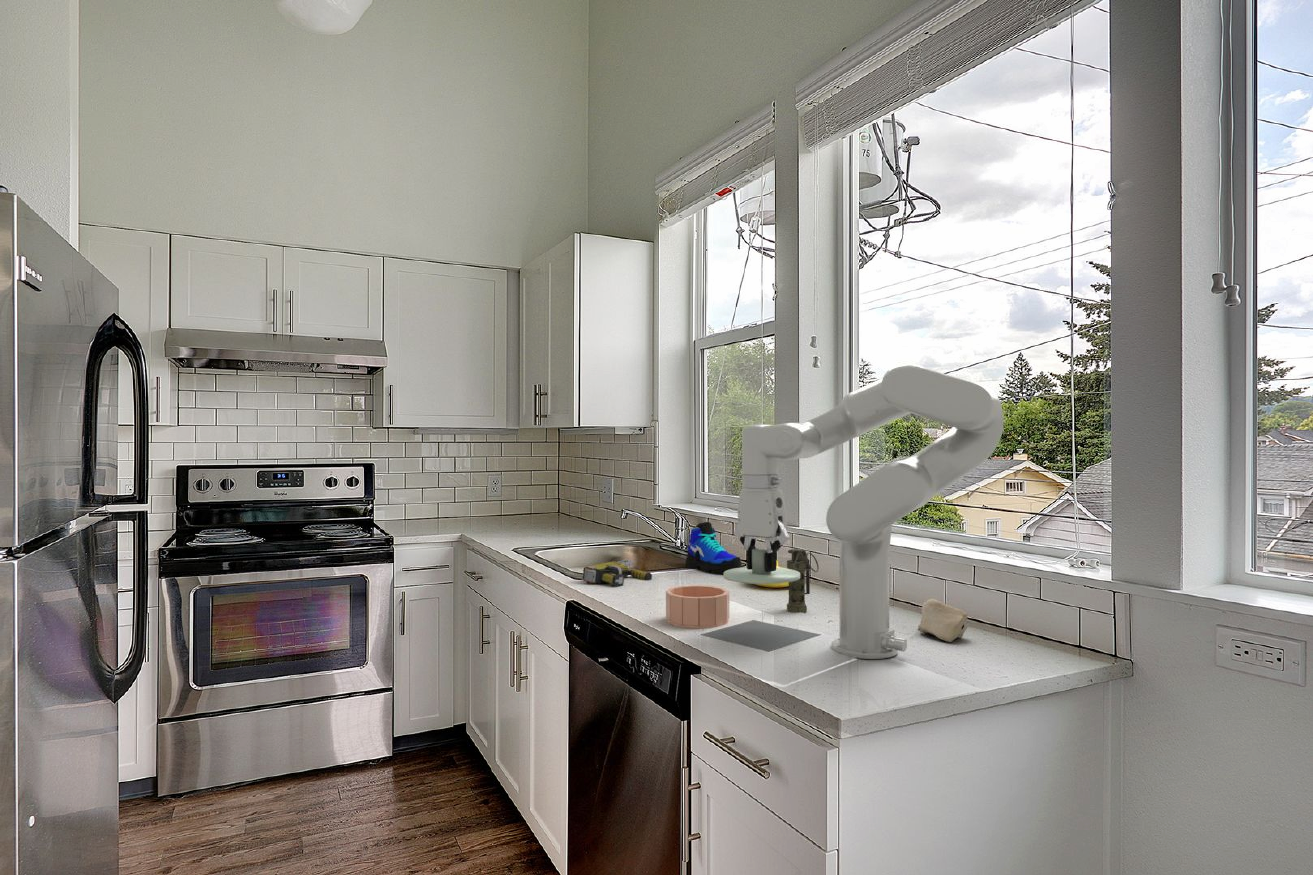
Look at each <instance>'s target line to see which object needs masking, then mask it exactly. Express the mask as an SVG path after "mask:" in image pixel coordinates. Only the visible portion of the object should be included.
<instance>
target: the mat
mask: <svg viewBox="0 0 1313 875" xmlns="http://www.w3.org/2000/svg"><path fill="white" fill-rule="evenodd" d="M699 636H704V637H707V638H712V639H716V640H720V641H722V642H723V641H724V642H728V643H732V644H736V645H741V646H744V647H748V648H752V649H757V650H760V651H764V652H772V651H775V650H779V649H782V648H785V647H788V646H791V645H794V644H796V643H800V642H803V641H806V640H810V639H813V638H816V637H819V636H822V634H820V633H815V632H811V631H807V630H803V629H797V628H792V627H789V626H783V625H779V624H774V623H769V622H765V621H761V620H760V621H758V620H755V619H752V620H749V621H744V622H741V623H738V624H734V625H731V626H727V627H726V626H725V627H723V628H719V629H715V630H711V631H708V632H704V633H700V634H699Z"/></svg>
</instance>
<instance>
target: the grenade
mask: <svg viewBox="0 0 1313 875" xmlns="http://www.w3.org/2000/svg"><path fill="white" fill-rule="evenodd" d="M787 553H788V554H791V559H788V560H787V561H786V568H787V569H792V570H795V571H798V572H800V579H799V580H796V581H793V582H789V586H788V602H787V603H786V610H787V612H788V613H789V612H791V613H799V614H800V613H801V614H802V613H803V614H806V613H807V612H808V608H807V607H808V606H807V604H806V598H805V595H810V593H811V592H810V591H811V588H810V586H811V585H810V584H811V581H810V580H811V579H810V576H811V575H810V572H811V570H812V571H813V572H814V573H817V572H819V569H820V568H819V562H818V560H817V558H816V556H815V555H814V554H813V553H811V552H806V550H805V549H804V548H803V549H801V548H793V549H792V548H791V549H789V550H788V551H787ZM808 555H811V556H812V558H813V559H814V561H815V564H816V570H815V569H813V567H812V566H811V564H810V559H809V558H808Z"/></svg>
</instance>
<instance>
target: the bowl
mask: <svg viewBox="0 0 1313 875" xmlns="http://www.w3.org/2000/svg"><path fill="white" fill-rule="evenodd" d="M665 618H666V622H667V623H668V624H670V625H672V626H676V627H682V628H690V629H706V628H707V629H710V628H717V627H722V626H725V625H726V624H728V623H729V622H730V621H729V619H730V591H729V590H727V589H726V588H724V587H719V586H713V585H701V584H700V585H698V584H697V585H696V584H692V585H680V586H675V587H670V588H668V589H667V590H665Z"/></svg>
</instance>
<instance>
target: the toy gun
mask: <svg viewBox="0 0 1313 875" xmlns="http://www.w3.org/2000/svg"><path fill="white" fill-rule="evenodd" d="M631 566H632V568H631ZM634 566H635V563H634V561H633V560H631V559H630V560H629V559H623V560H618V561H616V560H615V561H614V560H613V561H609V562H603V563H597V564H593V565H587V566H584V567H583V570H582V580H583V581H584V582H585V583H586V582H587V583H586V584H596V583H599V584H612V585H611V586H612V587H621V586H624V580H625V578H628V576H630V577H631V578H635V579H638V580H644V581H651V580H652V579H653V574H652V573H651V572H646V571H644V570H639V569H635V568H634ZM630 568H631V569H630ZM588 582H589V583H588Z"/></svg>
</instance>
